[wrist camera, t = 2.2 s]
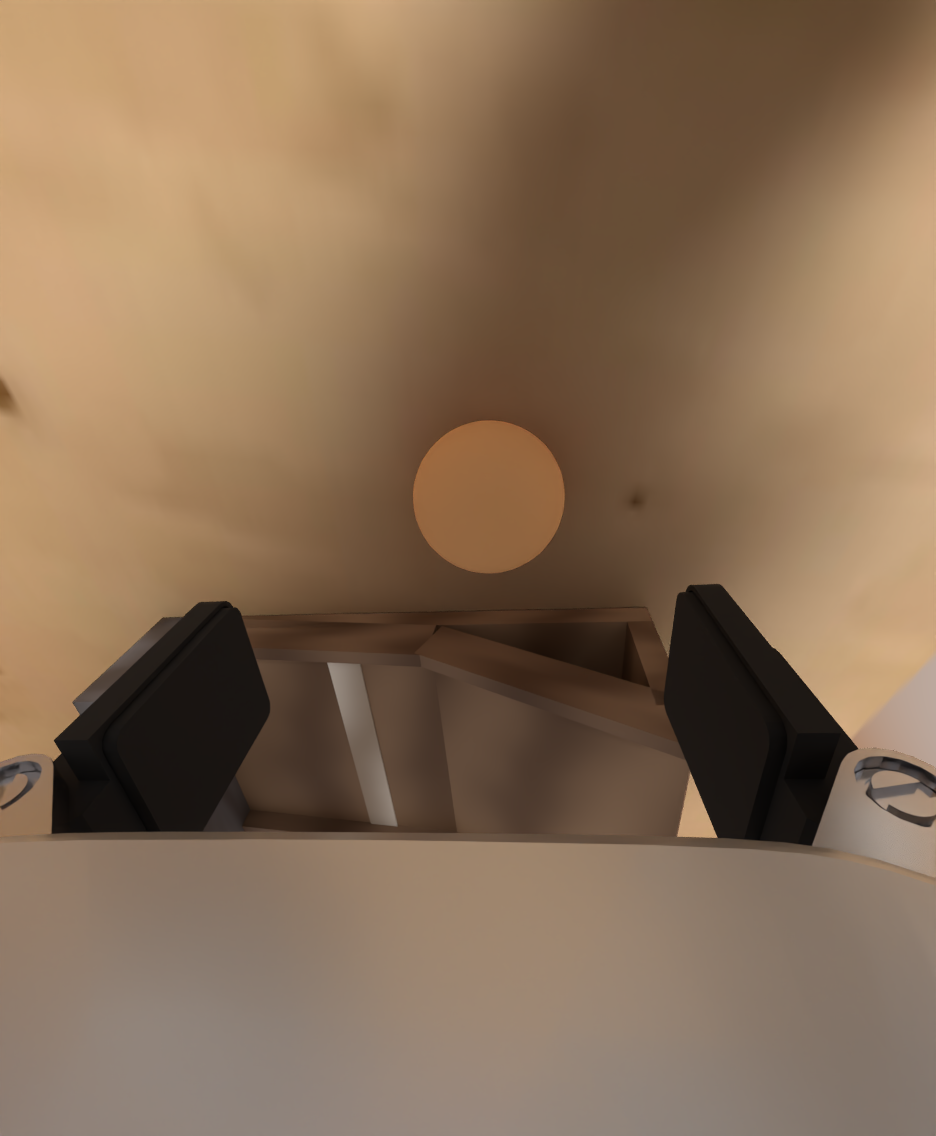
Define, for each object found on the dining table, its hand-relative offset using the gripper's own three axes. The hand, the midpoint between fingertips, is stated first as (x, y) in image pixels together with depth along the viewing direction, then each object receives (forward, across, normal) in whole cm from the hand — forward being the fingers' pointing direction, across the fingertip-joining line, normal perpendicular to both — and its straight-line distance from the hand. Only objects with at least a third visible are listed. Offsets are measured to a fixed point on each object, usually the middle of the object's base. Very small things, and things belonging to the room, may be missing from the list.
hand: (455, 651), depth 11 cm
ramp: (+10, +4, +12) cm, 16 cm away
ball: (+7, -1, -1) cm, 7 cm away
